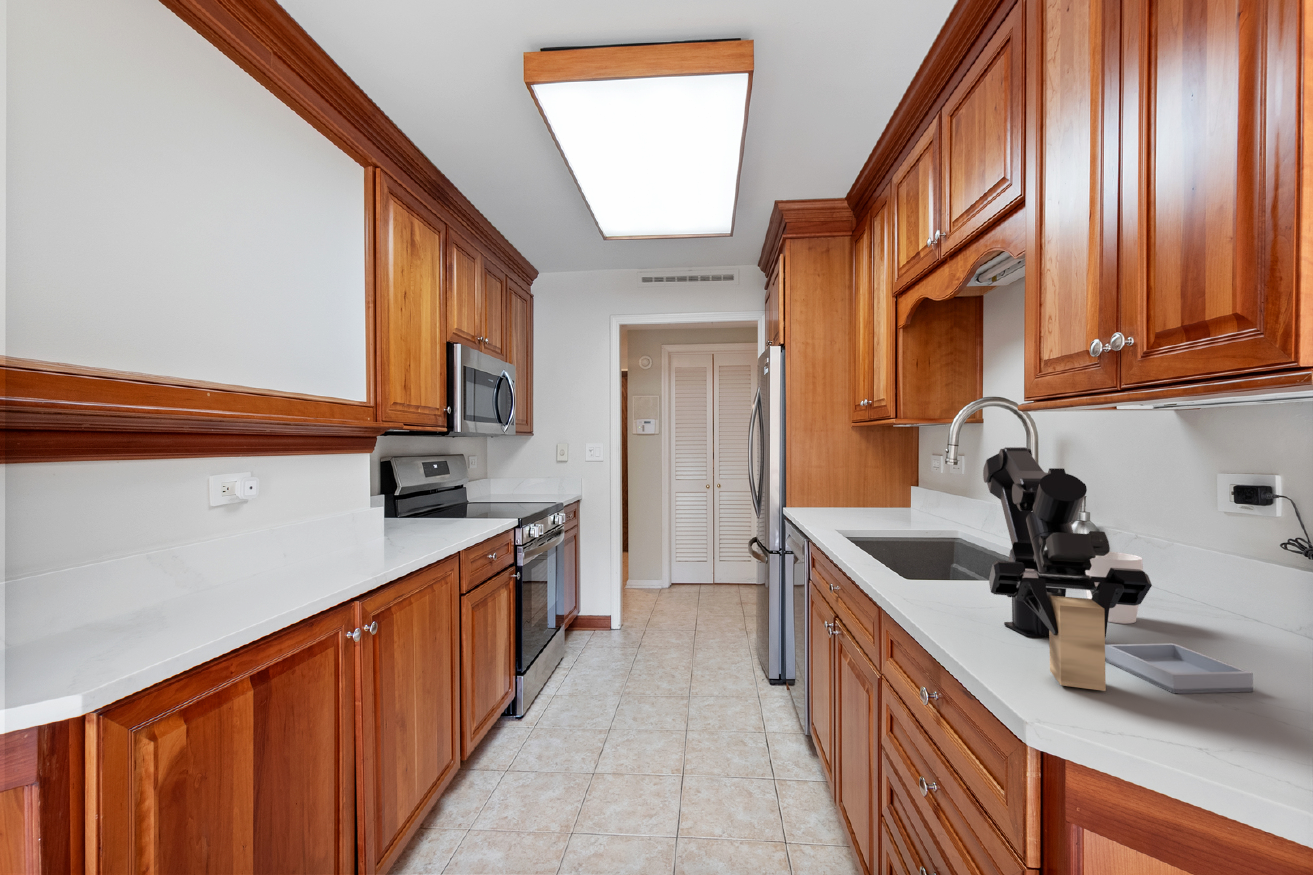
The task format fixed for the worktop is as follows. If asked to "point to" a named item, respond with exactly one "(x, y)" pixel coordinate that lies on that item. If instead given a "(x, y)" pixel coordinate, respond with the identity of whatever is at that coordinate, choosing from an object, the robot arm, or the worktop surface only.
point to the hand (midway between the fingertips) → (1079, 636)
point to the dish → (1178, 668)
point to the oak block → (1078, 643)
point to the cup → (1101, 569)
